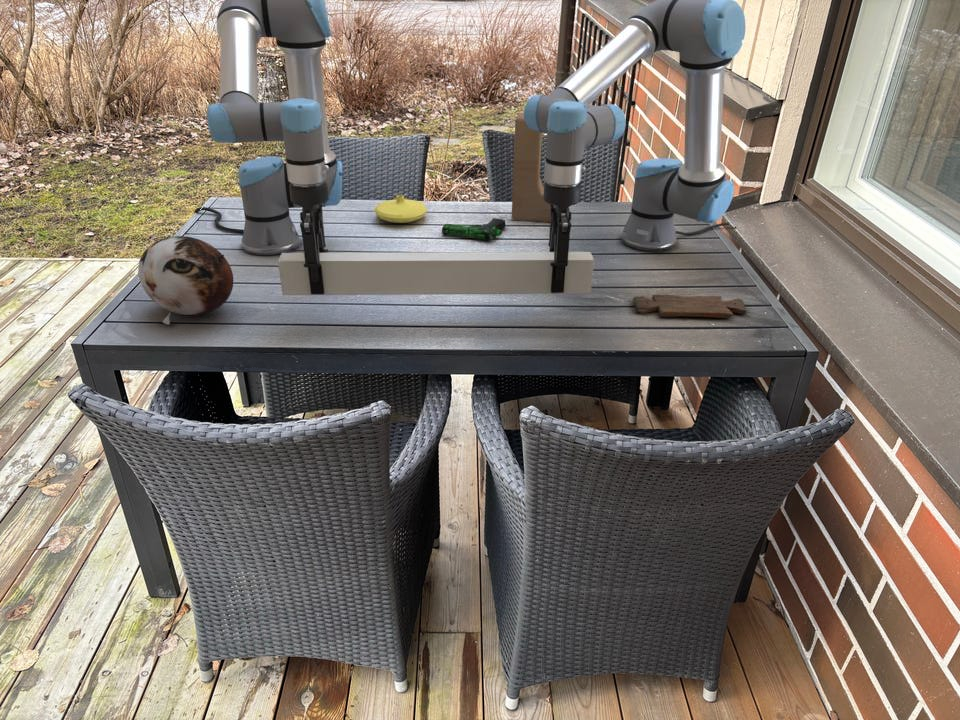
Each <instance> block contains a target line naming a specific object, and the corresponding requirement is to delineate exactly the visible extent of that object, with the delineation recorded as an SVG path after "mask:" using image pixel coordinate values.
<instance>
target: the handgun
mask: <svg viewBox="0 0 960 720" xmlns="http://www.w3.org/2000/svg"><path fill="white" fill-rule="evenodd" d="M505 228H506V220H505V219H503V218H497V217H492V219H491V220H490V221H489V222H488V223H483V224H482V225H479V224H472V225H459V224H453V223H445V224H443V226H442V227H441V235H446V236H454V237H462V238H469V239H470V238H471V239H474V240H479V241H484V242H491V241H492V240H494V239H495V238H497V237H500V236H502V230H504V229H505Z"/></svg>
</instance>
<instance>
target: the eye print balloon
mask: <svg viewBox="0 0 960 720" xmlns="http://www.w3.org/2000/svg"><path fill="white" fill-rule="evenodd" d="M137 267H138V269H137V272H138V273H137V274H138V275H137V276H138V280H139V283H140V285H141V287H142V290H143V291H144V292H145V293H146V294H147V296H148V298H150V299H151V300H152V301H153V302H154V303H155V304H157V305H158V306H160V307H161V308H163V309H165V310H167V311H169V313H168V314H167V316H166V317H165V318H164V319H162V321H161V322H162V323H163V324H165V325H168V326H170V325H171V322H170V321H171V312H172V313H174V314H179V315H185V316H200V315H205V314H209V313H211V312H214V311H216V310H218V309H219V308H221V307H222V306H223V305H224V304H225V303H226V302H227V300H228V299H229V298H230V296H231V295H232V291H233V288H234V274H233V270H232V268H231V265H230V263H229V262H228V260H227V258H226V257H225V254H222V252H221V251H220V250H218V249H217V248H216V247H214V246H213V245H211V244H210V243H208V242H207V241H204V240H201V239H199V238H195V237H191V236H184V235H175V236H174V235H173V236H168V237H163V238H160V239H158V240H156V241H155V242H153V243H151V244H150V245H149V246H148V247H147V248H146V249H145V250H144V251H143V252H142V254H141V257H140V259H139V261H138V266H137Z"/></svg>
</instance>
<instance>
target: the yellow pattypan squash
mask: <svg viewBox="0 0 960 720" xmlns="http://www.w3.org/2000/svg"><path fill="white" fill-rule="evenodd" d="M427 211H428V208H427V206H426V205H425V204H424V203H423V202H421V201H418V200H414V199H406V198H405V195H403V194H397V195H396V198H395V199H390V200H385V201H382V202H380V203H378V204H377V205H376V206H375V208H374V213H375V215H376V217H377V218H379V219H381V220H383V221H386V222H388V223H393V224H407V223H412V222H416V221H417V220H420V219H422V218H423V217H424V216H426V214H427Z"/></svg>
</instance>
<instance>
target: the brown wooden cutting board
mask: <svg viewBox="0 0 960 720" xmlns="http://www.w3.org/2000/svg"><path fill="white" fill-rule="evenodd" d="M651 297H652V298H649V297H646V296H643V295H642V296H639V295H638V296H634V297H633V298H632V300H633V303H634V307H635V310H636V312H637V313H638V314H648V313H651V312H655V311H658V313H659V316H660V317H663V318H669V317H670V318H675V317H698V318H699V317H701V318H719V319H720V318H721V319H723V318H724V319H729V318H732V317H733V316H734V314H740V315H746V313H747V308H746V304H745V303H744V301H743V299H741V298H735V299H731V300H726V301H723V300H722V298H723V296H721V295H719V296H718V295H678V294H677V295H676V294H675V295H671V294H652V296H651Z"/></svg>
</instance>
